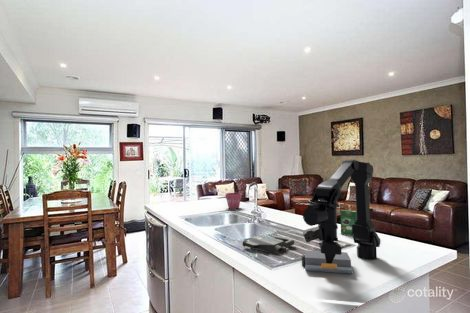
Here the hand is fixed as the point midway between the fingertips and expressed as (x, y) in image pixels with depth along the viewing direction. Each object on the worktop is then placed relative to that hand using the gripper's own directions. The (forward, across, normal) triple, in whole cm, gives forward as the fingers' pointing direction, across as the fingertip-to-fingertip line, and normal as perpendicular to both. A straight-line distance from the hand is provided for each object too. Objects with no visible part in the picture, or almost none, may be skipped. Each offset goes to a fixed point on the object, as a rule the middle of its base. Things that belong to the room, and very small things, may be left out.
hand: (328, 265), depth 93 cm
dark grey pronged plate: (+5, -28, -23) cm, 37 cm away
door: (+4, -4, 0) cm, 6 cm away
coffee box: (+4, -57, +16) cm, 60 cm away
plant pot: (+6, -128, -66) cm, 144 cm away
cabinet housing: (+4, -9, 0) cm, 10 cm away
